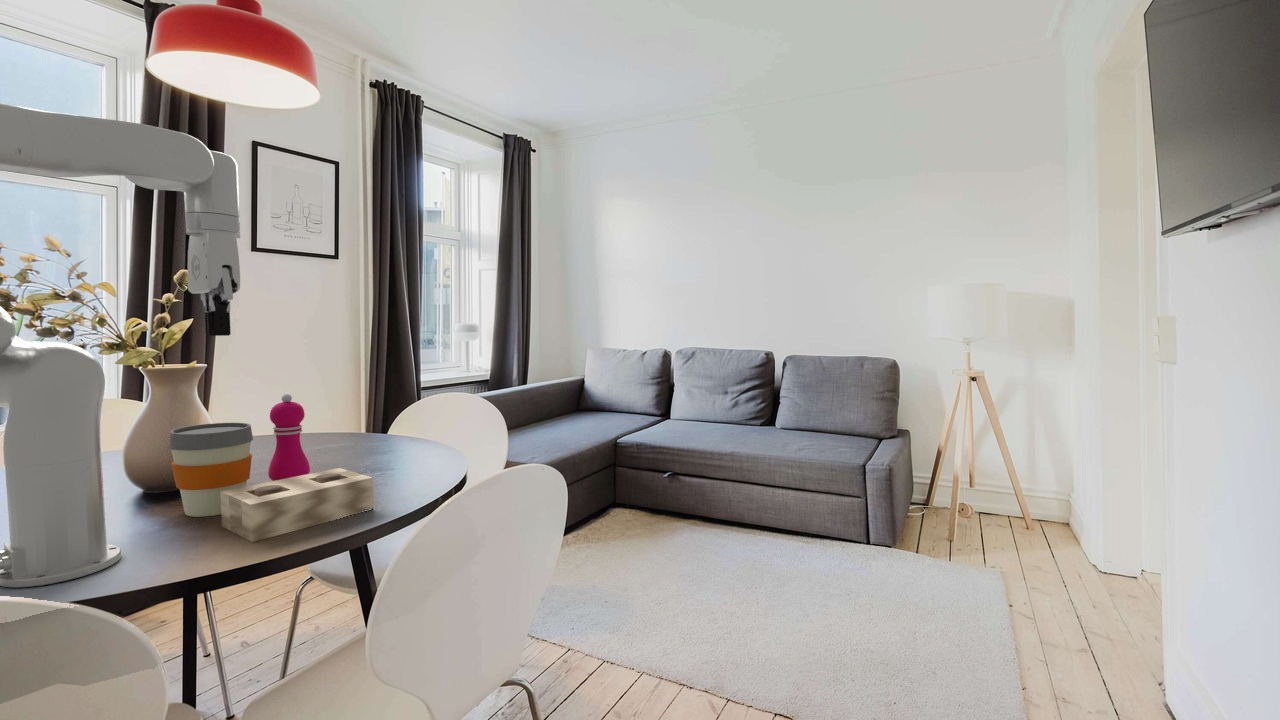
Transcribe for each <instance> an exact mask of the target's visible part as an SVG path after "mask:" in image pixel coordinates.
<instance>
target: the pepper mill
mask: <svg viewBox="0 0 1280 720" xmlns="http://www.w3.org/2000/svg"><path fill="white" fill-rule="evenodd" d="M292 400H293V396H292V395H291V394H289V393H285V394H283V395H282V396H281V401H282V402H279V403H277V404H275V405H273V406H272V407H271V408H270V412H269V419H270V422H271V423H272V424H274V427H272V429H273V435H275V440H276V442H275V444H276V446H275V449H274V453H273V455H272V458H271V460H270V463H269V467H268V472H267V473H268V474H267V475H268V478H269V479H270V480H271V481H276V480H281V479H286V478H291V477H296V476H301V475H306V474H310V472H311V468H310V467H311V466H310V462H309V459H308V458H307V456H306V454H305V452H304V450H303V447H302V445H301V433H302V432H303V429H302V428H303V425H302V424H301V423H302V422H303V420H304V419H305V414H306V413H305V408H304V407H303V406H302V405H301V404H300V403H298V402H295V401H292Z"/></svg>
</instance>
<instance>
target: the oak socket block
mask: <svg viewBox="0 0 1280 720" xmlns="http://www.w3.org/2000/svg"><path fill="white" fill-rule="evenodd" d="M329 473H338V474H341V479H340V480H335V481H330V482H326V483H319V482H316V477H317V476H319V475H322V474H329ZM373 481H374V479H373V476H368V475H365V474H361V473H359V472H355V471H350V470H348V469H345V468H342V467H338V468H332V469H328V470H321V471H317V472H313V473H309V474H306V475H301V476H296V477H291V478H286V479H281V480H276V481H272V480H271V481H267V482H261V483H257V484H253V485H252V484H251V485H246V486H245V487H240V488H235V489H230V490H225V491H220V493H221V514H220V515H221V527H223V528H225V530H226V529H227V530H228V531H229V532H232V533H233V534H235V535H238V536H239V537H242V538H243V539H245V540H248V542H251V543H254V542H259V541H261V540H265V539H269V538H273V537H276V536H277V537H278V536H280V535H284V534H287V533H288V534H289V533H292V532H296V531H300V530H304V529H306V528H311V527H313V526H318V525H322V524H325V523H329V521H330V522H333V521H337V520H340V518H341V519H344V518H343V517H345V518H347V517H346V516H348V517H350V516H349V515H352V516H354V515H353V514H356V513H359V512H362V511H365V510H369V509H372V508H373V509H374V482H373ZM270 485H280V486H282V489H283V492H279V493H274V494H270V495H265V496H260V497H258V496H255V491H254V490H255V489H257V488H259V487H263V486H270ZM356 515H357V514H356ZM336 519H337V520H336Z"/></svg>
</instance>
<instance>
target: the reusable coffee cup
mask: <svg viewBox="0 0 1280 720" xmlns="http://www.w3.org/2000/svg"><path fill="white" fill-rule="evenodd" d="M253 436H254V435H253V431H252V425H251V423H246V422H215V423H205V424H195V425H187V426H182V427H178V428H175V429H172V430H170V431H169V438H168V449H170V450H171V454H172V459H173V461H172V462H171V468H172V473H173V478H174V482H175V488H176V489H179V492H180V496H181V501H182V507H183V511H184V514H185V515H186V516H188V517H194V518H195V517H196V518H199V517H200V518H201V517H209V516H210V517H211V516H216V515H217V516H219V515H221V493H220V491H225V490H230V489H235V488H240V487H245V486H247V481H248V480H249V479H250V477H251V469H252V468H251V467H252V458H253V454H252V453H251V446H252V445H251V443H252V441H254V437H253Z"/></svg>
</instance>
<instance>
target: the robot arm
mask: <svg viewBox="0 0 1280 720" xmlns="http://www.w3.org/2000/svg"><path fill="white" fill-rule="evenodd" d="M0 171H1V172H8V173H15V174H23V175H31V176H37V177H38V176H39V177H47V178H48V177H51V178H82V177H83V178H85V177H86V178H87V177H97V176H98V177H100V176H118V177H119V176H121V177H124V178H126V179H127V180H128V181H130V183H133V184H135V186H136V185H137V186H138V187H141V188H145V189H149V190H154V191H155V190H157V191H172V192H174V191H175V192H182V193H183V196H184V197H183V198H184V214H185V215H184V216H185V235H187V236H189V239H188V246H187V247H188V249H187V290H188V292H189V293H191V294H192V295H193V294H200V300H201V301H202V304H203V311H204V331H205V332H204V333H205V336H208V337H209V336H211V337H213V336H214V337H218V336H219V337H221V336H222V337H223V336H230V335H231V314H230V312H231V302H232V301H233V299H234V294H236V293H237V292H240V289H241V269H240V267H241V265H240V256H239V248H238V247H239V246H238V239H240V238H241V225H240V224H241V222H240V221H241V220H240V219H241V218H240V199H239V175H238V173H239V171H238V163H237V162H236V159H234V158H233V156H231V155H229V154H226V153H223V152H220V151H216V150H210V149H209V148H208V147H207V146H206V145H205V143H203V142H202V141H201V140H199V139H198V138H196V137H194V136H192V135H190V134H187V133H186V132H185V133H184V132H181V131H176V130H172V129H166V128H163V127H159V126H154V125H148V124H143V123H137V122H132V121H125V120H117V119H109V118H100V117H99V118H98V117H92V116H91V117H90V116H84V115H79V114H72V113H62V112H53V111H47V110H46V111H45V110H39V109H34V108H29V107H23V106H18V105H14V104H10V103H9V104H8V103H4V102H0ZM16 332H17V331H16V325H15V322H14V320H13V319H12V316H11V315H10V314H9V313H8V312H7V311H6V310H5V309H4V308H3V307H2V306H1V305H0V408H4V409H8V414H7V418H6V424H5V427H4V432H3V433H4V435H3V447H2V449H3V450H2V451H3V464H4V469H5V472H4V473H5V484H6V499H7V513H8V528H9V531H8V532H9V542H8V541H7V542H4V543H3V548H2V549H0V587H5V588H31V587H40V586H46V585H51V584H57V583H61V582H67V581H70V580H74V579H77V578H81V577H85V576H88V575H90V574H91V575H92V574H93V573H97V572H100V571H102V570H104V569H106V568H108V567H110V566H112V565H114V564H115V563H117V562H119V560H120V559H121V558H122V549H121V547H119V546H118V545H114V544H109V543H108V544H107V528H106V509H105V492H104V477H103V475H104V473H103V460H102V459H103V458H102V457H103V456H102V446H101V445H102V442H101V418H102V417H101V415H102V406H103V402H104V394H105V388H106V376H105V373H104V370H103V367H102V365H101V363H100V361H98V359H97V358H96V357H95V356H94V355H93V354H92V353H90V352H89V351H87V349H84V348H82V347H80V346H77V345H74V344H70V343H65V342H57V341H36V340H35V341H26V340H24V339H22V338H20V337H19V336H17V335H16V334H17V333H16Z"/></svg>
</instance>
